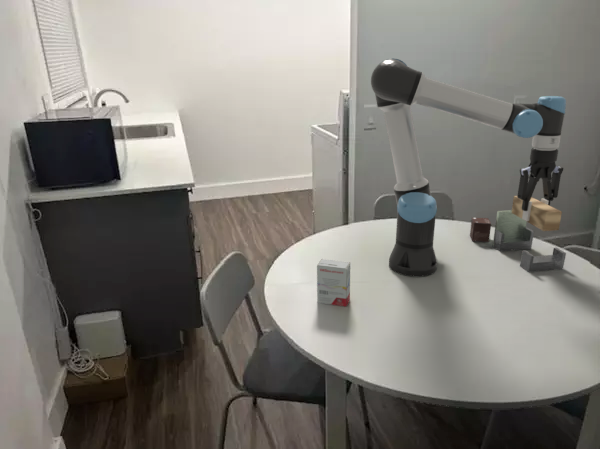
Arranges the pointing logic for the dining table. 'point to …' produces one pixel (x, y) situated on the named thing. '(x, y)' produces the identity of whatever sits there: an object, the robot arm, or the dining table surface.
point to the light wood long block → (539, 214)
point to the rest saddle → (542, 261)
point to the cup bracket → (511, 232)
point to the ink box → (333, 282)
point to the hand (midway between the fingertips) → (533, 219)
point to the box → (480, 229)
